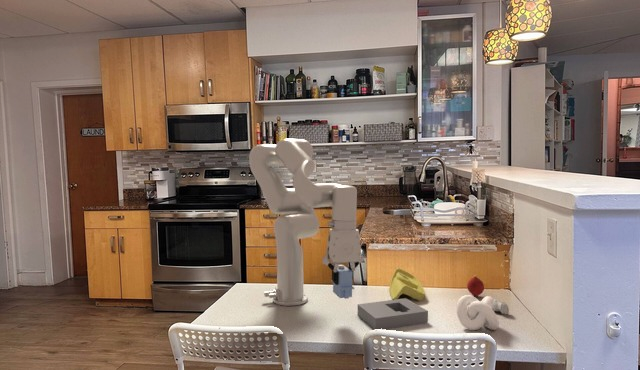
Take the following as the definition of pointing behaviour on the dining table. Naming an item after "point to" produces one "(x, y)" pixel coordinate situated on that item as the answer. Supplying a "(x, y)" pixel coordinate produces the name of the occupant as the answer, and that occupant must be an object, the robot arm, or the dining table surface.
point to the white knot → (477, 313)
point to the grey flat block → (392, 313)
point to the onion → (475, 286)
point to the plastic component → (405, 285)
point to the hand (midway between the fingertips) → (342, 282)
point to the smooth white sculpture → (500, 307)
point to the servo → (343, 282)
